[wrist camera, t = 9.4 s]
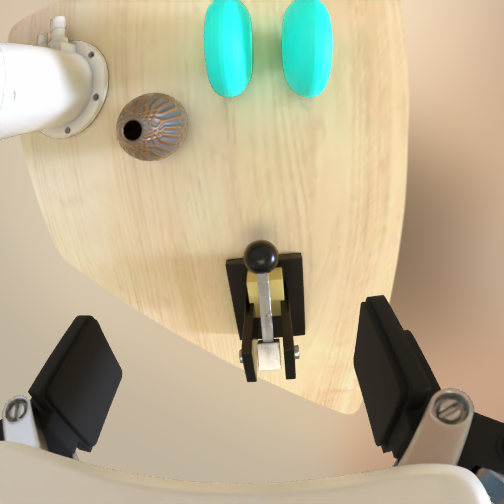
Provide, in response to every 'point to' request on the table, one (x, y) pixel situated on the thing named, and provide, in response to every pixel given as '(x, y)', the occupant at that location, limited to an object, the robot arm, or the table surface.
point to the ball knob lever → (264, 300)
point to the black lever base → (283, 324)
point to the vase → (152, 126)
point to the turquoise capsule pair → (293, 47)
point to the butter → (275, 291)
